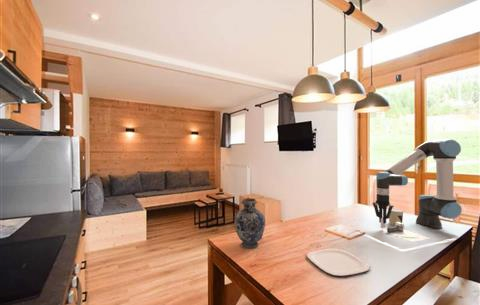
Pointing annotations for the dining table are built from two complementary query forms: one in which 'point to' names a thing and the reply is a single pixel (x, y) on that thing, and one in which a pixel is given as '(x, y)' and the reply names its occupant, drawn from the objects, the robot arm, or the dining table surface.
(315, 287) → the dining table surface
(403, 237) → the gauge board
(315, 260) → the plate
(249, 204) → the decorative vase
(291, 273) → the dining table surface
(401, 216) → the coffee cup
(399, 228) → the dark grey lever
